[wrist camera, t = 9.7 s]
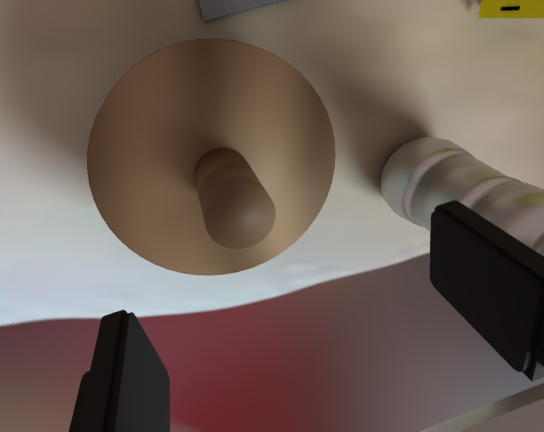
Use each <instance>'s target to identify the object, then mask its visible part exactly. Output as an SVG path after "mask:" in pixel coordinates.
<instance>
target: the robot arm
mask: <svg viewBox="0 0 544 432" xmlns="http://www.w3.org/2000/svg"><path fill="white" fill-rule="evenodd" d="M430 280H431V282H432V284H433V286H434V287H435V289H436V290H437V291H438V292H439V293H440V294H441V295H442V296H443V297H444V298H445V299H446V300H447V301H448V302H449V303H450V304H451V305H452V306H453V307H454V308H455V309H456V310H457V311H458V312H459V313H460V314H461V315H462V316H463V317H464V318H465V319H466V320H467V321H468V323H469V324H470V325H472V327H473V328H474V329H476V331H477V332H478V333H479V334H480V335H481V336H482V337H483V338H484V339H485V340H486V341H487V342H488V343H489V344H490V345H491V346H492V347H493V348H494V349H495V350H496V351H497V352H498V353H499V354H500V355H501V356H502V357H503V359H504V360H506V361H507V363H508V364H509V365H510V366H511V367H513V369H515V370H516V371H518V372H523V373H524V374H525V375H526V376H527V377H528V378H529V379H530V380H531V381H534V380H537V379H540V378H542V377H544V256H542V255H541V254H539V253H538V252H536V251H535V250H533V249H531V248H530V247H528V246H527V245H525V244H524V243H522V242H521V241H519V240H518V239H516V238H514V237H513V236H511V235H510V234H508V233H507V232H505V231H504V230H502V229H501V228H499V227H497V226H496V225H494V224H493V223H491V222H490V221H488V220H487V219H485V218H483V217H482V216H480V215H479V214H477V213H476V212H474V211H473V210H471V209H470V208H468V207H466V206H465V205H463V204H462V203H460V202H459V201H456V200H453V201H450V202H447V203H444V204H441V205H438V206H436V207H435V210H434V212H432V214H431V231H430ZM69 432H170V381H169V375H168V372H167V370H166V368H165V366H164V364H163V363H162V361H161V359H160V358H159V356H158V354H157V352H156V351H155V349H154V347H153V345H152V344H151V342H150V340H149V339H148V337H147V335H146V333H145V332H144V330H143V328H142V326H141V325H140V323H139V321H138V319H137V318H136V316H135V314H134V313H133V312H131V313H127V312H126V311H125V310H121V311H118V312H115V313H112V314H109V315H106V316H103V317H102V319H101V323H100V328H99V332H98V337H97V341H96V346H95V351H94V355H93V360H92V364H91V369H90V371H88V372H86V373H85V374H84V375H83V377H82V380H81V383H80V387H79V391H78V396H77V400H76V404H75V409H74V412H73V417H72V421H71V425H70V429H69ZM420 432H544V383H543V384H540V385H537V386H535V387H532V388H529V389H527V390H524V391H522V392H519V393H517V394H514V395H512V396H509V397H506V398H504V399H501V400H499V401H496V402H493V403H491V404H488V405H486V406H483V407H481V408H478V409H476V410H473V411H471V412H468V413H465V414H463V415H460V416H458V417H455V418H453V419H450V420H447V421H445V422H442V423H440V424H437V425H435V426H432V427H430V428H427V429H425V430H422V431H420Z"/></svg>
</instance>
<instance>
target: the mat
mask: <svg viewBox="0 0 544 432" xmlns="http://www.w3.org/2000/svg"><path fill="white" fill-rule="evenodd" d="M280 1H284V0H198V3H199V7H200V10H201V14H202V18H203V21H207V20H211V19H215V18H219V17H222V16H226V15H230V14H234V13H238V12H242V11H246V10H250V9H253V8H257V7H261V6H265V5H269V4H273V3H277V2H280Z"/></svg>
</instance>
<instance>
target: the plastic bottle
mask: <svg viewBox="0 0 544 432" xmlns="http://www.w3.org/2000/svg"><path fill="white" fill-rule="evenodd" d="M381 192H382V196H383V198H384V200H385V201H386V202H387V204H388V205H389V206H390V208H391V209H392V210H393V211H394V212H395V213H396V214H397V215H399V216H400V217H402V218H404V219H406V220H407V221H409V222H411V223H414V224H416V225H419V226H422V227H424V228H426V229H427V230H429V231H431V214H432V212H434V210H435V207H436V206H438V205H441V204H444V203H447V202H450V201H453V200H456V201H459V202H460V203H462V204H463V205H465V206H466V207H468V208H470V209H471V210H473V211H474V212H476V213H477V214H479V215H480V216H482V217H483V218H485V219H487V220H488V221H490V222H491V223H493V224H494V225H496V226H497V227H499V228H501V229H502V230H504V231H505V232H507V233H508V234H510V235H511V236H513V237H514V238H516V239H518V240H519V241H521V242H522V243H524V244H525V245H527V246H528V247H530V248H531V249H533V250H535V251H536V252H538V253H539V254H541V255H542V256H544V190H543V189H541V188H538V187H535V186H533V185H530V184H527V183H523V182H521V181H519V180H516V179H514V178H511V177H508V176H506V175H504V174H502V173H501V172H499V171H497V170H495V169H493V168H492V167H490V166H488V165H486V164H484V163H483V162H481V161H479V160H477V159H476V158H474V157H473V156H472V155H471V154H470V153H469V152H468V151H466V150H465V149H463V148H462V147H460V146H459V145H457V144H455V143H454V142H452V141H450V140H445V139H439V138H433V137H422V138H418V139H415V140H413V141H410V142H408V143H406V144H404V145H403V146H401V147H400V148H398V149H397V150H396V151H395V152H394V153H393V154H392V155H391V157H390V158H389V159H388V161H387V162H386V164H385V166H384V169H383V171H382V176H381Z"/></svg>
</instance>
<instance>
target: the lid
mask: <svg viewBox="0 0 544 432" xmlns="http://www.w3.org/2000/svg"><path fill="white" fill-rule="evenodd" d="M334 168H335V141H334V135H333V130H332V125H331V122H330V119H329V116H328V113H327V111H326V109H325V107H324V105H323V103H322V101H321V99H320V97H319V96H318V94H317V93H316V91H315V90H314V88H313V87H312V86H311V84H310V83H309V82H308V81H307V80H306V79H305V78H304V77H303V76H302V74H301V73H300V72H298V71H297V70H296V69H295V68H293V67H292V66H291V65H290V64H288V63H287V62H286V61H284V60H282V59H281V58H279V57H277V56H276V55H274V54H272V53H270V52H268V51H265V50H263V49H260V48H258V47H256V46H252V45H249V44H245V43H241V42H237V41H232V40H223V39H197V40H192V41H186V42H181V43H178V44H175V45H172V46H169V47H166V48H163V49H161V50H159V51H157V52H155V53H153V54H151V55H149V56H147V57H146V58H144V59H143V60H142V61H140V62H139V63H137V64H136V65H135V66H133V67H132V68H131V69H130V70H129V71H128V72H127V73H126V74H125V75H124V76H123V77H122V78H121V79H120V80H119V81H118V82H117V83H116V85H115V86H114V87H113V89H112V90H111V91H110V93H109V94H108V96H107V97H106V99H105V101H104V103H103V105H102V106H101V108H100V110H99V112H98V114H97V116H96V119H95V122H94V125H93V127H92V130H91V134H90V139H89V145H88V152H87V170H88V178H89V185H90V188H91V192H92V195H93V199H94V201H95V203H96V206H97V208H98V210H99V212H100V214H101V216H102V218H103V219H104V221H105V222H106V224H107V225H108V227H109V228H110V229H111V231H112V232H113V233H114V234H115V235H116V237H117V238H118V239H119V240H120V241H121V242H122V243H124V244H125V245H126V246H127V247H128V248H129V249H130V250H132V251H133V252H135V253H136V254H138V255H139V256H140V257H142V258H144V259H146V260H148V261H149V262H151V263H153V264H155V265H158V266H160V267H163V268H166V269H168V270H172V271H176V272H180V273H185V274H192V275H223V274H229V273H235V272H239V271H243V270H246V269H249V268H252V267H255V266H257V265H260V264H262V263H264V262H266V261H268V260H270V259H272V258H274V257H275V256H277V255H279V254H280V253H281V252H283V251H284V250H286V249H287V248H288V247H290V246H291V245H292V244H293V243H294V242H296V241H297V240H298V239H299V238H300V237H301V236H302V235H303V233H304V232H305V231H306V230H307V229H308V228H309V226H310V225H311V224H312V223H313V221H314V220H315V218H316V217H317V215H318V213H319V212H320V210H321V208H322V206H323V204H324V202H325V200H326V198H327V195H328V192H329V189H330V186H331V183H332V179H333V173H334Z"/></svg>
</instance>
